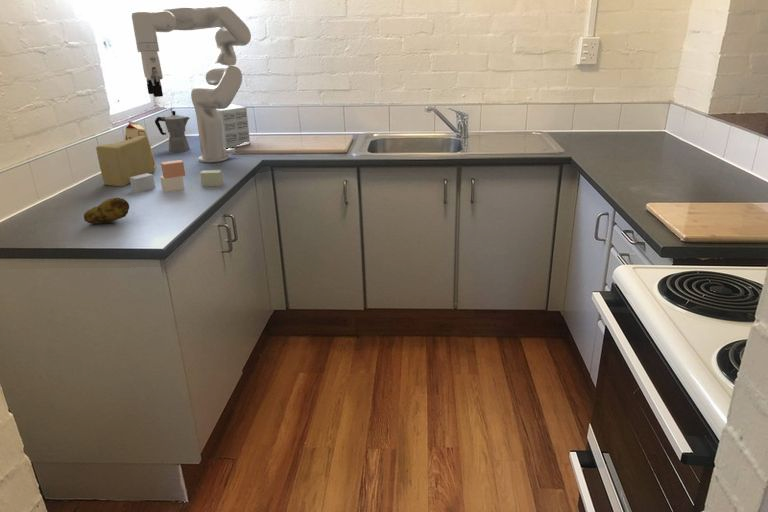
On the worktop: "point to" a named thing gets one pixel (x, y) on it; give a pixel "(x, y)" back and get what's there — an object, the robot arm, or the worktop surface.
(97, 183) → the worktop surface
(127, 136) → the milk carton
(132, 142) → the cheese
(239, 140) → the supplement box
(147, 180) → the slate brick
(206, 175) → the sage brick
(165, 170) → the terracotta brick
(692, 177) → the worktop surface
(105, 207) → the potato
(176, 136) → the coffeepot
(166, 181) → the cream brick
